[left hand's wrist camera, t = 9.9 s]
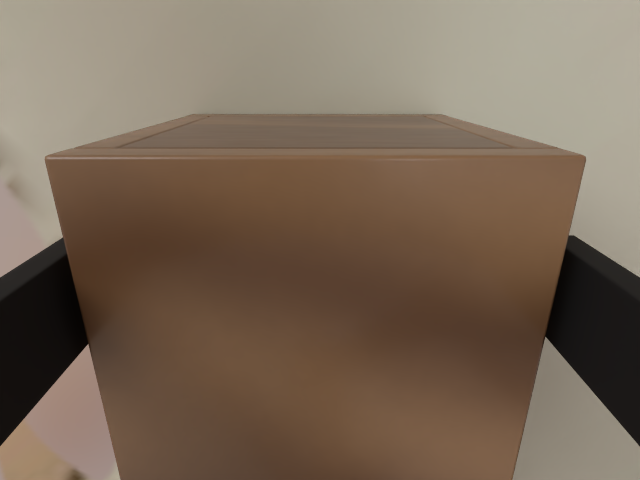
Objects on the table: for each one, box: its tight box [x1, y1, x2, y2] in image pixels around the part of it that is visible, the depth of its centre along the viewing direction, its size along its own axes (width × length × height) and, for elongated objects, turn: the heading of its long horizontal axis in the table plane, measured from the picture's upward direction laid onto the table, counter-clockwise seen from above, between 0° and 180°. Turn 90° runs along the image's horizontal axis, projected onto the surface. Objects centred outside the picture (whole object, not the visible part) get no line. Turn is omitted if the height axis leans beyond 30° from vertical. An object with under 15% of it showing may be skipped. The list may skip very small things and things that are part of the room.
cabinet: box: [45, 114, 586, 480], centre depth 18 cm, size 22×12×11 cm, turn 0°
